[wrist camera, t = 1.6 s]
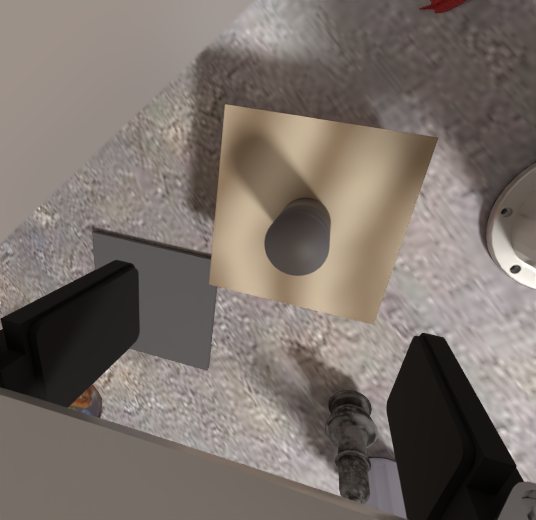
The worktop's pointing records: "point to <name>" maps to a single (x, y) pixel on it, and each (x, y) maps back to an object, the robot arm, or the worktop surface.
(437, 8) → the cayenne pepper
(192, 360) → the mat
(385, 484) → the soap bottle
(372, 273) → the lid
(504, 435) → the worktop surface
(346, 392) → the salt shaker
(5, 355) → the robot arm
